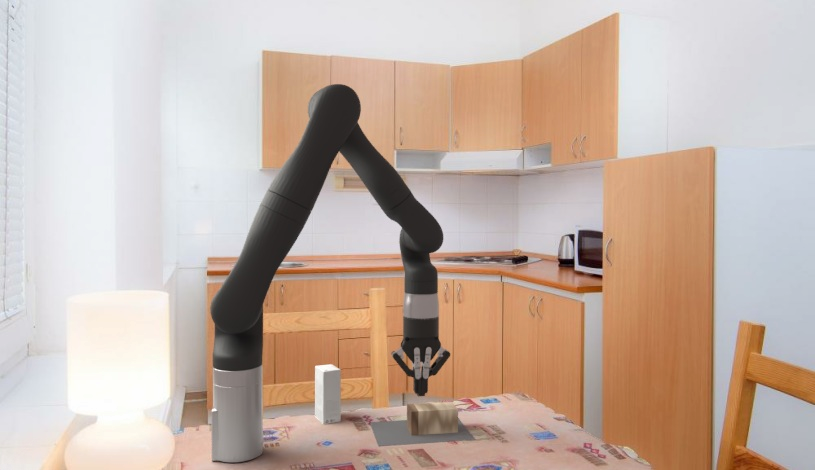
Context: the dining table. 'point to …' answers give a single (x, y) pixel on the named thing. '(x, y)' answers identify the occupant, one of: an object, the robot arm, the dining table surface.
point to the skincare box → (327, 394)
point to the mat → (400, 435)
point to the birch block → (432, 418)
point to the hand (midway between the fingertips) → (420, 395)
